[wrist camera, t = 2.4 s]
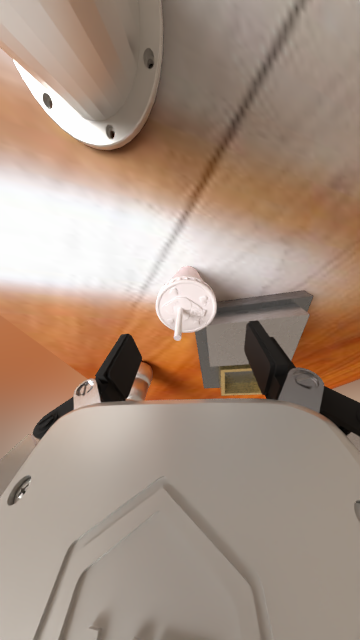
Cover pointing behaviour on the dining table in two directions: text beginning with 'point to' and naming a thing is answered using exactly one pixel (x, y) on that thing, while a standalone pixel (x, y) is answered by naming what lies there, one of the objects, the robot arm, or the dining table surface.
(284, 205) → the dining table surface
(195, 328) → the smoothie
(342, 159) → the dining table surface
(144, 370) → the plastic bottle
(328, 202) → the dining table surface
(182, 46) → the dining table surface
